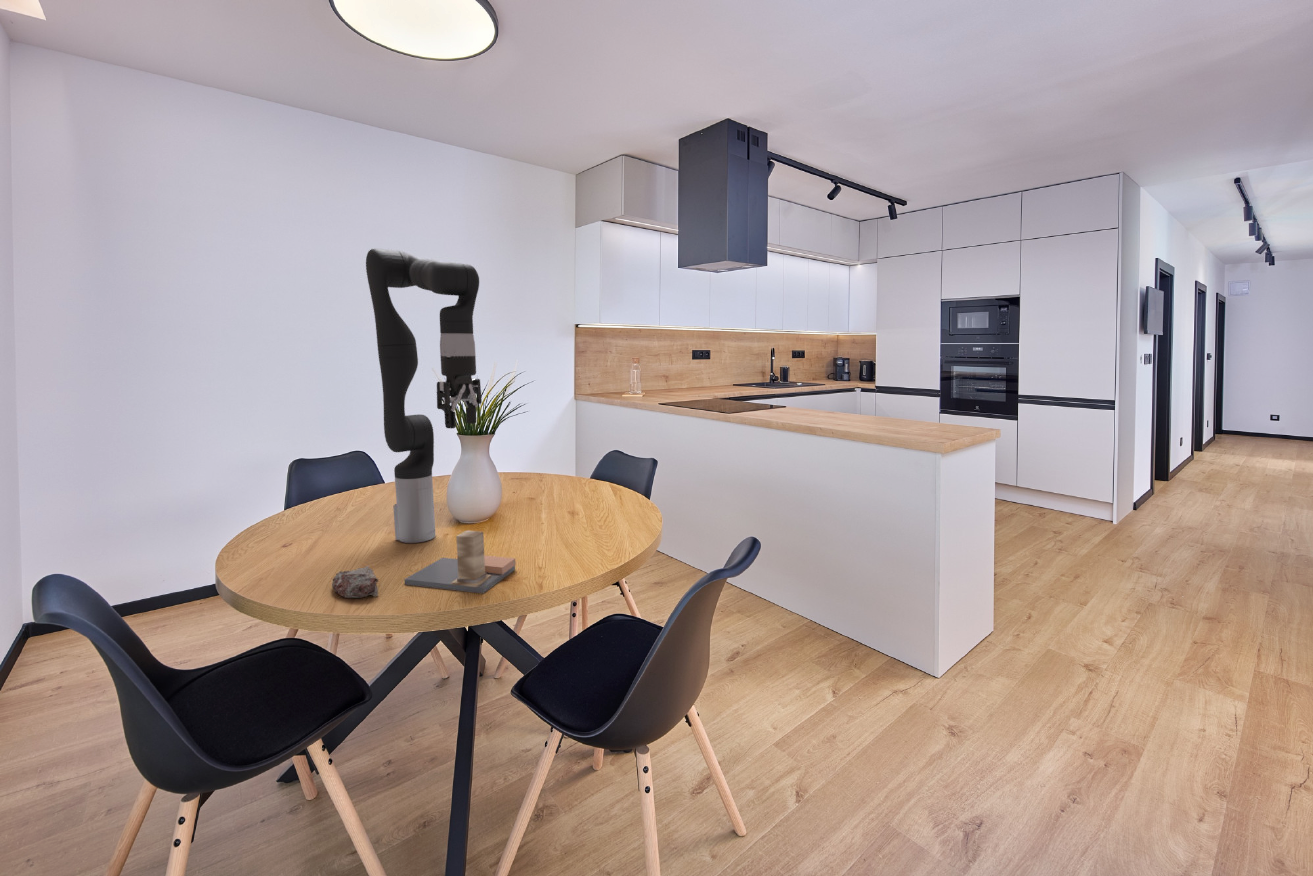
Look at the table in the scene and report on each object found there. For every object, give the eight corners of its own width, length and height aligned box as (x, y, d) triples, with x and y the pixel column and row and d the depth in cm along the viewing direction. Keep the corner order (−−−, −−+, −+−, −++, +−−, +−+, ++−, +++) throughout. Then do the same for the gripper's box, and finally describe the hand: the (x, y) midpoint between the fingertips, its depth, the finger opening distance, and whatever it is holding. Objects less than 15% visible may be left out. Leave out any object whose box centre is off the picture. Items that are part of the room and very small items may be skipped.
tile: (469, 564, 134) (502, 567, 132) (484, 555, 140) (515, 558, 138) (470, 571, 134) (502, 575, 132) (484, 562, 140) (515, 565, 138)
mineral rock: (329, 584, 130) (327, 565, 130) (369, 576, 135) (368, 558, 134) (337, 609, 118) (335, 588, 118) (381, 600, 123) (379, 579, 122)
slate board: (404, 584, 130) (404, 579, 130) (442, 562, 143) (442, 557, 143) (483, 593, 125) (483, 587, 125) (515, 569, 139) (514, 564, 138)
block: (457, 581, 127) (454, 536, 126) (468, 573, 132) (466, 530, 130) (475, 583, 126) (473, 537, 125) (486, 575, 131) (484, 531, 129)
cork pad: (451, 584, 127) (451, 582, 127) (466, 574, 133) (466, 572, 133) (476, 587, 125) (476, 585, 125) (491, 576, 131) (491, 574, 131)
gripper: (461, 353, 143) (464, 421, 145) (423, 354, 129) (428, 429, 131) (489, 354, 141) (492, 422, 143) (454, 354, 127) (458, 430, 129)
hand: (461, 425), depth 137 cm, fingers open, 8 cm apart
